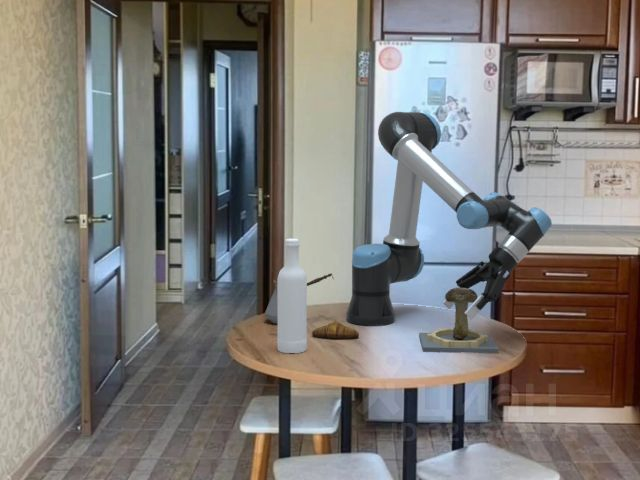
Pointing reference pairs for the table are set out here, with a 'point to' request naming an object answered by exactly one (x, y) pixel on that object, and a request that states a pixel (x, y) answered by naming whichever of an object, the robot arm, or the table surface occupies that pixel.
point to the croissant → (335, 331)
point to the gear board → (457, 342)
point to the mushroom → (461, 309)
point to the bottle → (292, 302)
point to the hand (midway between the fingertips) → (456, 311)
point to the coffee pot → (273, 305)
